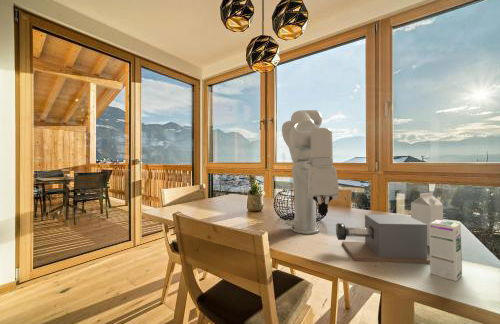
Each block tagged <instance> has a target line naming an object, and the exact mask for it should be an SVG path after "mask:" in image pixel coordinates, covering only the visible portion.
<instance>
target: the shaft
mask: <svg viewBox="0 0 500 324" xmlns="http://www.w3.org/2000/svg"><path fill="white" fill-rule="evenodd" d="M335 234H336V238H337V240H338V241H346V239H347V237H356V238H357V237H360V238H361V237H364V238H365V237H374V229H373V228H365V227H351V226H350V227H346V226H345V223H341V222H339V223H336V224H335Z"/></svg>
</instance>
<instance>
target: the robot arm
mask: <svg viewBox="0 0 500 324" xmlns="http://www.w3.org/2000/svg"><path fill="white" fill-rule="evenodd" d="M322 122H323V117H322V114H321V112H320V111H319V110H316V109H312V110H311V109H310V110H309V109H307V110H306V109H305V110H304V109H301V110H296V111H295V112H293V113H292V115H291V116H290V120H286V121H285V122H284V123H283V124H282V125H281V134H282V139H283V141H284V143H285V144H286V146H287V147H288V149H289V153H290V158H291V160H292V163H293V165H292V167H291V173H292V174H291V175H292V180H293V192H294V193H293V195H294V218H293V219H292V220H289V219H287V220H285V221H284V224H285V225H287V226H291V231H293V232H295V233H297V234H304V235H315V234H318V233H319V232H320V227H319V226H318V225H317V212H318V213H319V215H320V216H321V217H323V216H325V217H326V216H327V213H328V204H329V203H330V202H331V201H332V200H336V199H339V197H340V196H339V180H338V173H337V167H336V166H334V161H333V160H334V158H333V157H334V155H333V131H332V129H331V128H328V127H321V125H322ZM321 197H323V200H322V198H321ZM316 203H317V204H316ZM316 205H317V206H316Z"/></svg>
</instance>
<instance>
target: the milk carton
mask: <svg viewBox="0 0 500 324" xmlns="http://www.w3.org/2000/svg"><path fill="white" fill-rule="evenodd" d="M410 217H411V218H414V219H416V220H418V221H420V222H422V223H425V224H427V247H430V246H429V223H431V222H433V221H435V220H444V204H443V203H442V202H441V201H440V200H439V199H438V198H437V197H435V196H434V192H424V193H420V194H419V197H418V198H416V199H414V200H413V201H411V202H410Z"/></svg>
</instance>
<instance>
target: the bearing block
mask: <svg viewBox="0 0 500 324" xmlns="http://www.w3.org/2000/svg"><path fill="white" fill-rule="evenodd" d="M364 228H373V229H374V237H364V241H346V240H341V245H342V246H343V247H344V249H345V250H346V252H347V253H348V255H349V256H350V257H351V258H352V260H353V261H355V262H356V261H358V262H376V263H378V262H380V263H385V262H386V263H401V264H402V263H406V264H407V263H408V264H425V265H426V264H429V265H430V257H429V256H428V246H427V224H425V223H422V222H420V221H418V220H416V219H414V218H411V216H409V215H407V214H381V213H380V214H379V213H378V214H377V213H376V214H375V213H374V214H371V213H370V214H369V213H368V214H366V213H365V214H364Z"/></svg>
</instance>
